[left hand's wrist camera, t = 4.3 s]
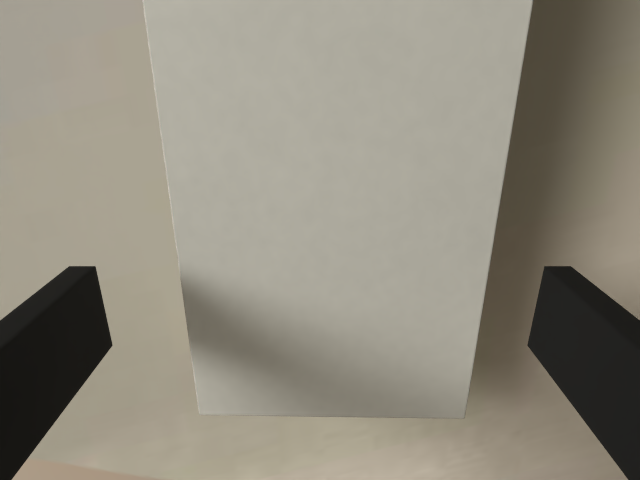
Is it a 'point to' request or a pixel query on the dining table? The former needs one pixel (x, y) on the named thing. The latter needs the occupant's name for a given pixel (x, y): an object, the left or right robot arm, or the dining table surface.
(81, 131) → the dining table surface
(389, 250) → the wide beam
